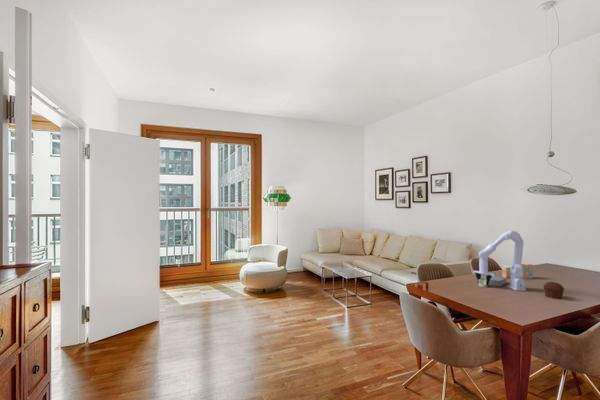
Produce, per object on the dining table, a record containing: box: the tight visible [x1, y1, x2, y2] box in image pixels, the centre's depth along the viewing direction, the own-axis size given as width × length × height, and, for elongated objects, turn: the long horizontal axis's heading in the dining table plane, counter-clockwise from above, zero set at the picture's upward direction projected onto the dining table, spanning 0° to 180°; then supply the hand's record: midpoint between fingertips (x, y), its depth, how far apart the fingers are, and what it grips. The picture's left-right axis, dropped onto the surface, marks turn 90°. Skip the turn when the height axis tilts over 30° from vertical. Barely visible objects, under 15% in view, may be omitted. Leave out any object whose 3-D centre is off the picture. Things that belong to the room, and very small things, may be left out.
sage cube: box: [478, 278, 489, 288], centre depth 236 cm, size 5×5×5 cm
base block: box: [476, 274, 508, 287], centre depth 246 cm, size 16×16×4 cm
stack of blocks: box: [501, 262, 534, 280], centre depth 261 cm, size 21×6×12 cm, turn 85°
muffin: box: [543, 281, 565, 300], centre depth 209 cm, size 12×11×10 cm
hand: (483, 284), depth 236 cm, fingers closed on sage cube, 5 cm apart
